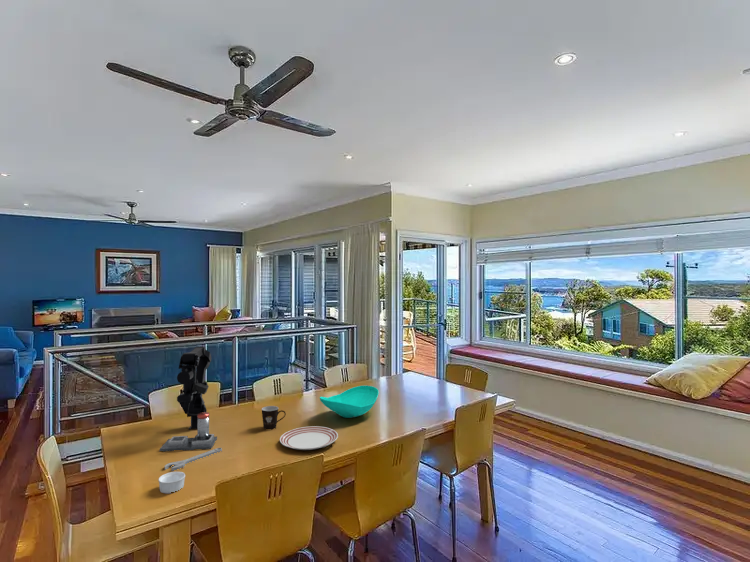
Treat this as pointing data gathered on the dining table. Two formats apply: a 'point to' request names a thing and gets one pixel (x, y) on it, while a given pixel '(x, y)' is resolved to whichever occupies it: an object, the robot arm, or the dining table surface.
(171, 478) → the ramekin
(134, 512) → the dining table surface
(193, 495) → the dining table surface
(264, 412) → the coffee mug
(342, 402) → the table top decor
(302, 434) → the dinner plate
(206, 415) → the silver and red cylinder
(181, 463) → the adjustable wrench
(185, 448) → the fitting board
